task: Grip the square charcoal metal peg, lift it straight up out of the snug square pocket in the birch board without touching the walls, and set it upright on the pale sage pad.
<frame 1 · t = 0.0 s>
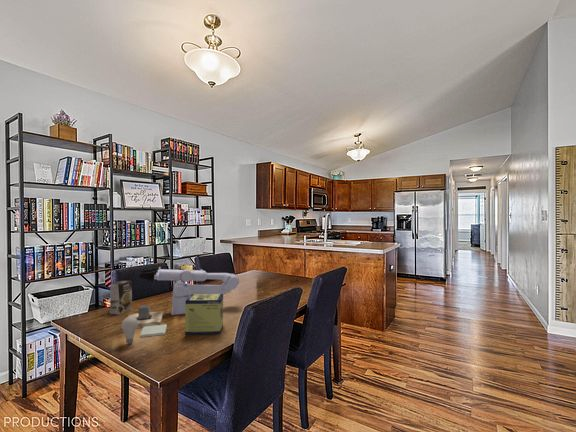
hand: (140, 274, 159), 22 cm above the table, tool horizontal, fingers open, 7 cm apart
lightbulb: (129, 344, 125), on the table
protein box: (204, 330, 140), on the table
coffee box: (121, 312, 165), on the table
pocket board: (144, 321, 150), on the table
pad: (154, 331, 138), on the table
peg: (144, 314, 150), in the pocket board
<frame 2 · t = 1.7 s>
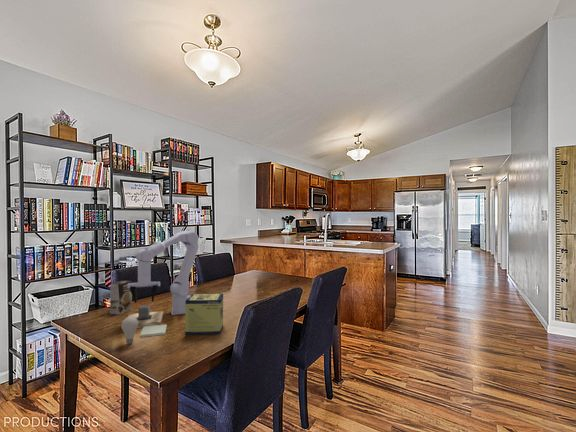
hand: (144, 301, 150), 10 cm above the table, tool pointing down, fingers open, 7 cm apart
nothing on the table moved.
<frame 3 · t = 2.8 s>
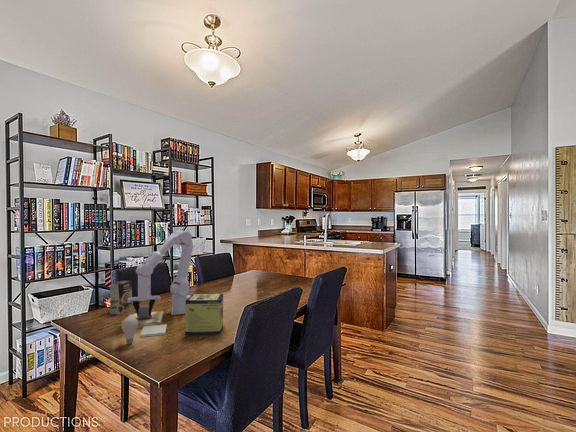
hand: (144, 315, 150), 3 cm above the table, tool pointing down, fingers closed on peg, 4 cm apart
peg: (144, 314, 150), in the pocket board, touching gripper
everything else where it was.
when the fingers open (5 cm above the table, at t = 7.5 s): peg drops 1 cm, resting on pad.
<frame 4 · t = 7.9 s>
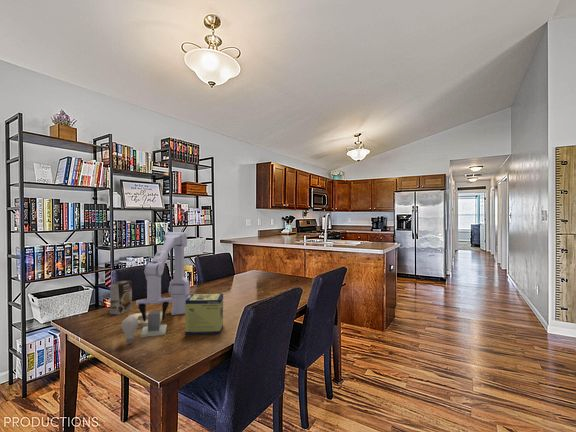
hand: (154, 319, 138), 5 cm above the table, tool pointing down, fingers open, 7 cm apart
peg: (154, 320, 138), on the pad, point 5 cm above the table
everything else where it was.
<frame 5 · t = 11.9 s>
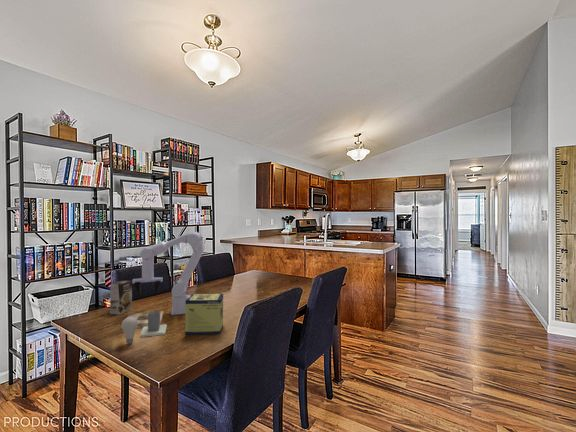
hand: (147, 295, 163), 9 cm above the table, tool pointing down, fingers open, 7 cm apart
nothing on the table moved.
at the end: peg 0.3 cm off-centre on the pad, point 4.7 cm above the pad's base; peg tilted 0°; the gripper is holding nothing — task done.
